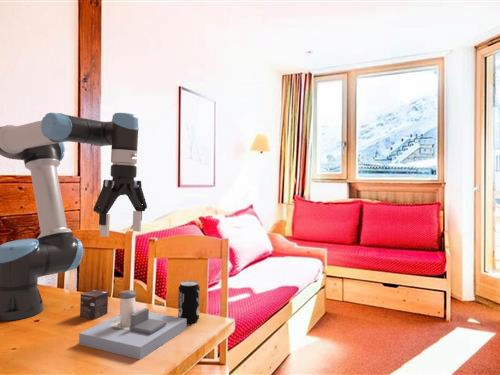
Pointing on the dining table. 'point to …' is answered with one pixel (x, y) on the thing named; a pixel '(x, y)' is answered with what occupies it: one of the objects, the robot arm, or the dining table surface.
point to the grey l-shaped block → (145, 322)
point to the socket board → (131, 336)
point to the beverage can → (188, 301)
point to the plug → (127, 307)
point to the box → (94, 304)
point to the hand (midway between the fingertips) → (121, 233)
